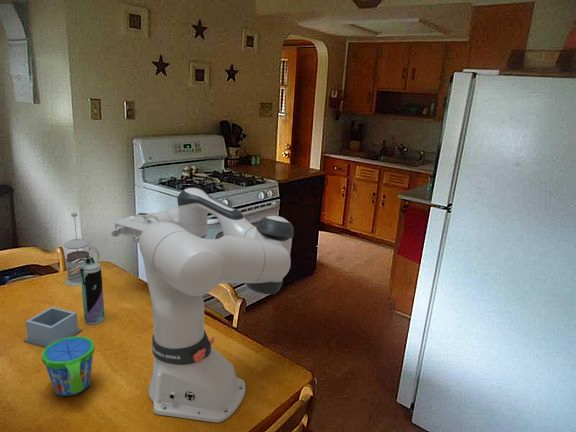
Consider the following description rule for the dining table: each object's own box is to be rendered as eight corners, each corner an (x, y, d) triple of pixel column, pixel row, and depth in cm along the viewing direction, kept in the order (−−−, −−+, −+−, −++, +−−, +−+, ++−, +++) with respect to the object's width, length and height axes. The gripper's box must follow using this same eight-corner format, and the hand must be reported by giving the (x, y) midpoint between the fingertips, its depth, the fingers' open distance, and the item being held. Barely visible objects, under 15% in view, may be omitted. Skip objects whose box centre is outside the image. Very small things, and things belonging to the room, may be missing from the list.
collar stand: (82, 330, 119) (80, 312, 117) (53, 350, 110) (51, 330, 108) (54, 323, 122) (52, 305, 120) (23, 341, 112) (21, 322, 111)
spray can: (97, 326, 122) (92, 262, 116) (80, 323, 122) (74, 260, 117) (108, 316, 127) (104, 255, 121) (92, 314, 128) (87, 253, 122)
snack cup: (46, 372, 101) (41, 336, 98) (94, 361, 106) (90, 326, 103) (46, 416, 88) (41, 375, 85) (101, 401, 93) (97, 362, 90)
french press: (67, 275, 152) (60, 209, 145) (102, 272, 156) (97, 208, 148) (62, 287, 143) (54, 217, 136) (99, 284, 147) (93, 216, 140)
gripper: (180, 241, 137) (148, 254, 125) (135, 229, 146) (101, 239, 134) (180, 223, 135) (148, 234, 123) (134, 211, 144) (100, 221, 132)
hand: (123, 237), depth 129 cm, fingers open, 8 cm apart
